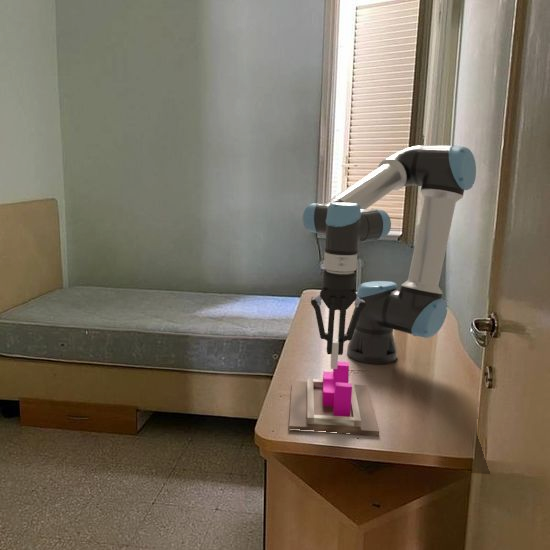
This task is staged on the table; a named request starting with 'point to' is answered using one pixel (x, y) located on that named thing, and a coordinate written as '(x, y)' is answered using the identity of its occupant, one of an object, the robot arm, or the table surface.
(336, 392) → the toy block
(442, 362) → the table surface
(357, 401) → the locating board
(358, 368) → the table surface
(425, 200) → the robot arm
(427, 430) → the table surface
